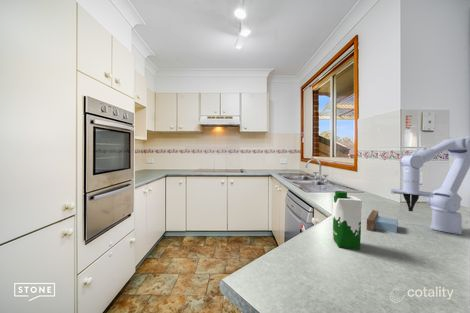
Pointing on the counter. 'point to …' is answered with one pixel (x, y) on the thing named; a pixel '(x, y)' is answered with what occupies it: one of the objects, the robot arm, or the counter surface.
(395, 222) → the block
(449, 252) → the counter surface
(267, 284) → the counter surface
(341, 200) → the milk carton
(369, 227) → the board
